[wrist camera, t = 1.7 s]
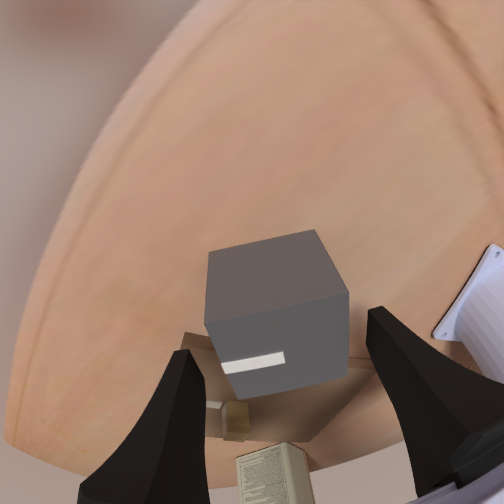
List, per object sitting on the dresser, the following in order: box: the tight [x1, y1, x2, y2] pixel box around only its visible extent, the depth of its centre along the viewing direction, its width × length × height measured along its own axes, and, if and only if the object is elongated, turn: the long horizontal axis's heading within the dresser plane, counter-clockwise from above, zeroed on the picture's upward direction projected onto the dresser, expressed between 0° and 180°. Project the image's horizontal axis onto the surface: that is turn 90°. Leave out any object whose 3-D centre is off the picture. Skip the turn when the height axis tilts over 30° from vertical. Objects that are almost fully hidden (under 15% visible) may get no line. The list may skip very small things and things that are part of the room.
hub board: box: [180, 332, 376, 442], centre depth 19 cm, size 14×11×4 cm
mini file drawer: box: [204, 229, 349, 400], centre depth 13 cm, size 5×5×5 cm
